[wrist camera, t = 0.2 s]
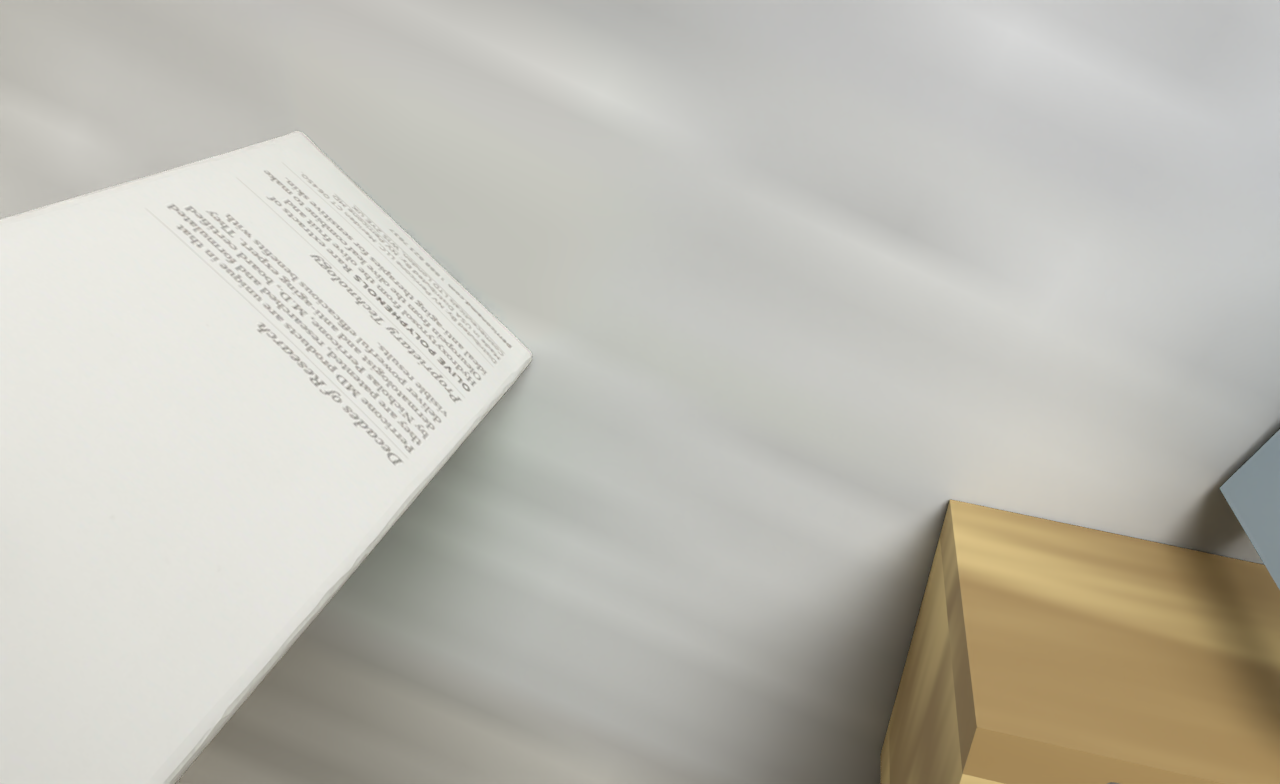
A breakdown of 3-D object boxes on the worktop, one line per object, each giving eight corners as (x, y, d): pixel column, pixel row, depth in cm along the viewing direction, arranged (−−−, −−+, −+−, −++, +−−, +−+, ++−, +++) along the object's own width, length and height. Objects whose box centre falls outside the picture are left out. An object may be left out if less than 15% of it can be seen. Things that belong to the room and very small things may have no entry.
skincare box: (302, 591, 26) (-377, 1387, 12) (66, 381, 26) (-961, 970, 11) (554, 343, 23) (35, 1025, 9) (295, 93, 22) (-738, 405, 8)
